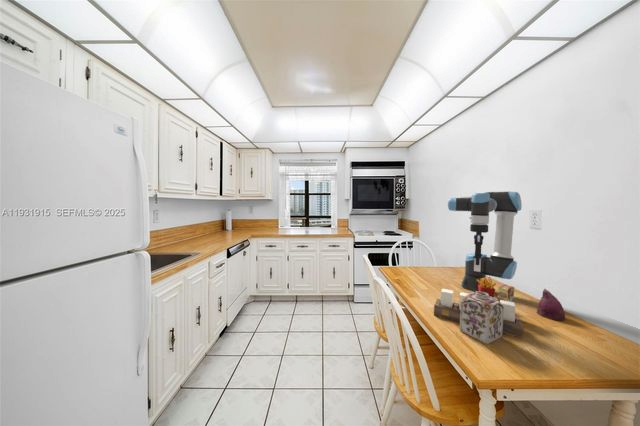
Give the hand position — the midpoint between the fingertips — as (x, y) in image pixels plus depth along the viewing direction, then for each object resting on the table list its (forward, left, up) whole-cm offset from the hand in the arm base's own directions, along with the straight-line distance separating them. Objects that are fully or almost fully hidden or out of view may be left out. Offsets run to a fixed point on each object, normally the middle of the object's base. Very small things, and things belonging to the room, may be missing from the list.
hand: (477, 269), depth 121 cm
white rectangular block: (+9, -12, -18) cm, 23 cm away
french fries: (-20, +4, -23) cm, 31 cm away
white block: (+9, -4, -18) cm, 21 cm away
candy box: (-6, +12, -23) cm, 27 cm away
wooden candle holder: (+9, 0, -23) cm, 25 cm away
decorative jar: (+21, +2, -23) cm, 31 cm away
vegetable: (-21, +32, -23) cm, 45 cm away
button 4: (+9, +12, -18) cm, 23 cm away
